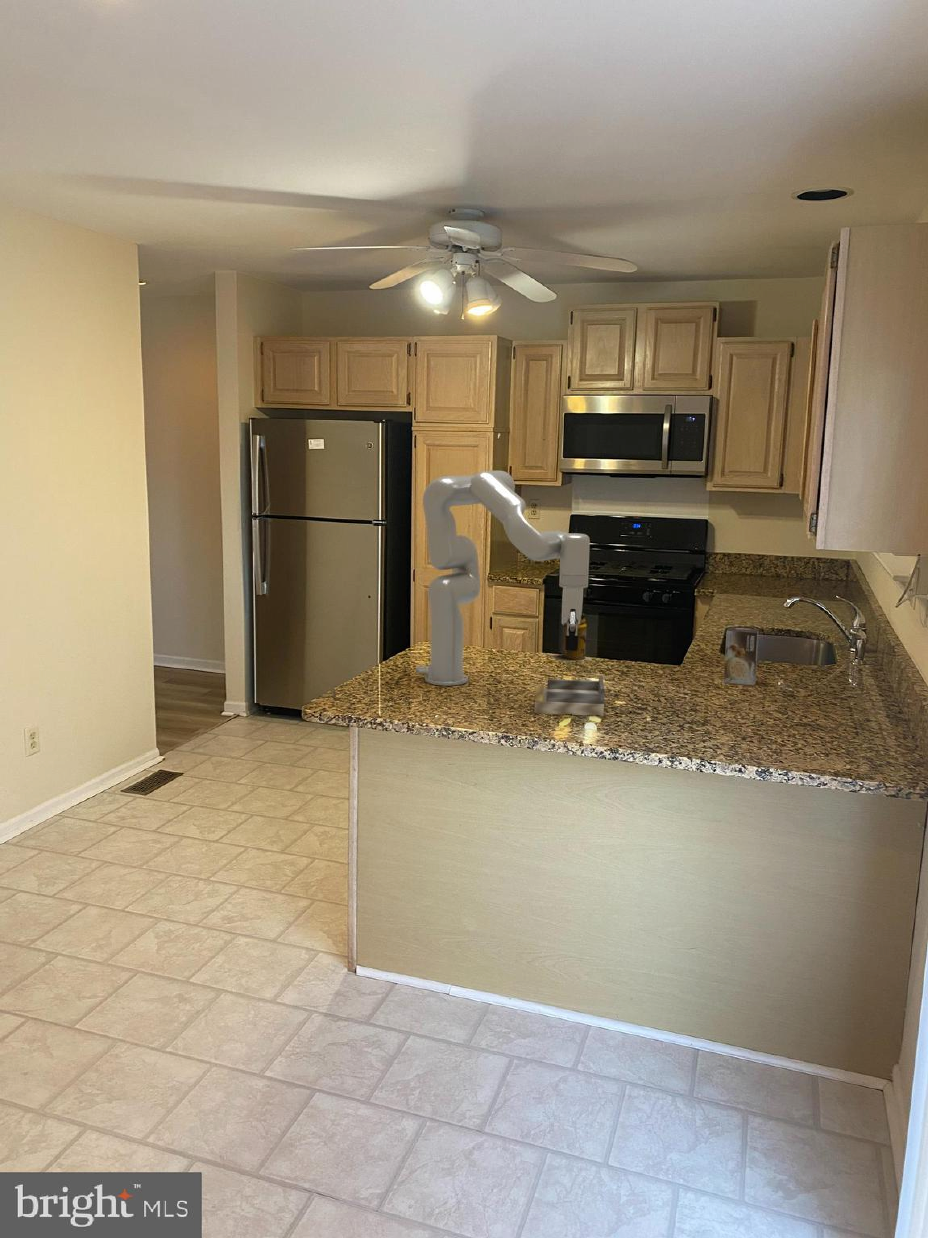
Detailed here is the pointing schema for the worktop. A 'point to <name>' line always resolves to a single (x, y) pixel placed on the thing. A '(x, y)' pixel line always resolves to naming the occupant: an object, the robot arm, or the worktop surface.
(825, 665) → the worktop surface
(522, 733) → the worktop surface
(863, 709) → the worktop surface
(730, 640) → the coffee box
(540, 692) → the dock
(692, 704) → the worktop surface
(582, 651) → the condiment
